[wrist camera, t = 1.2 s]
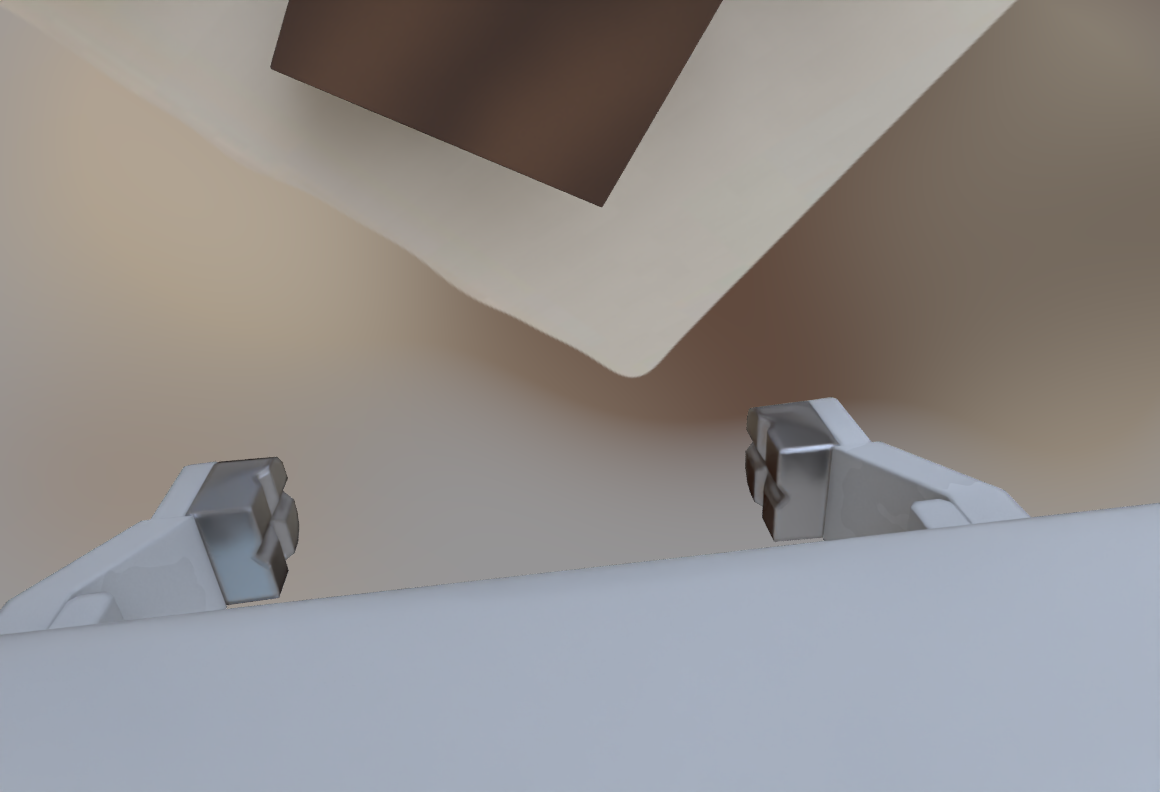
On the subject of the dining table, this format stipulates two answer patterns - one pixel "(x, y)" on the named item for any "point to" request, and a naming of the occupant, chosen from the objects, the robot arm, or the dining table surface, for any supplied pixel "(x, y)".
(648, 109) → the bookcase
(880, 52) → the dining table surface
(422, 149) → the dining table surface
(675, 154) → the dining table surface
